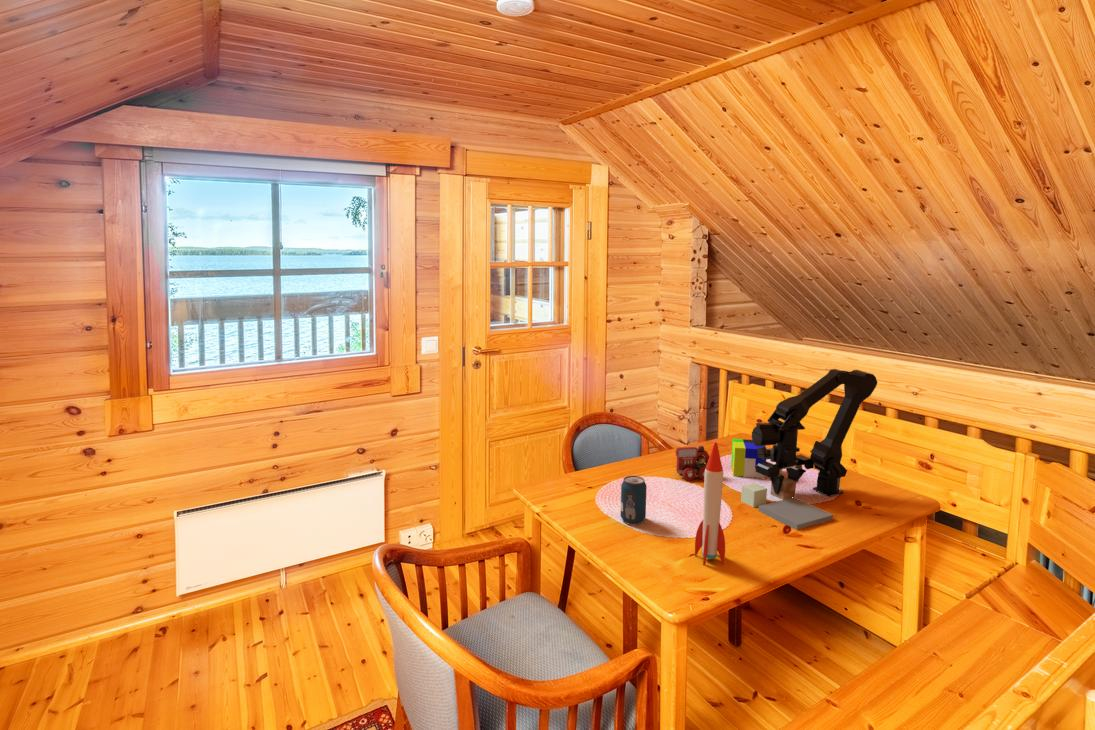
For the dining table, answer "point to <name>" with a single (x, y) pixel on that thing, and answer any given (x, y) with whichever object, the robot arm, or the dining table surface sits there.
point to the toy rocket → (711, 511)
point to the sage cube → (753, 494)
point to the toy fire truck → (691, 462)
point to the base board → (795, 513)
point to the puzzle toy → (745, 458)
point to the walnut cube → (785, 489)
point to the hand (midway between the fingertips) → (783, 492)
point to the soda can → (633, 500)
